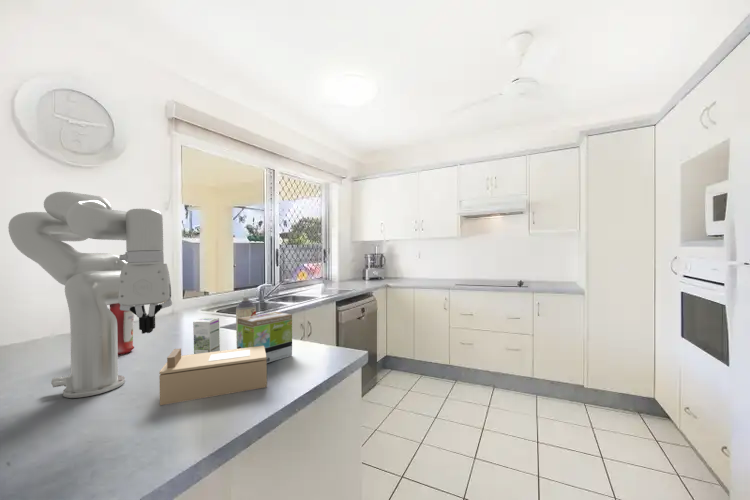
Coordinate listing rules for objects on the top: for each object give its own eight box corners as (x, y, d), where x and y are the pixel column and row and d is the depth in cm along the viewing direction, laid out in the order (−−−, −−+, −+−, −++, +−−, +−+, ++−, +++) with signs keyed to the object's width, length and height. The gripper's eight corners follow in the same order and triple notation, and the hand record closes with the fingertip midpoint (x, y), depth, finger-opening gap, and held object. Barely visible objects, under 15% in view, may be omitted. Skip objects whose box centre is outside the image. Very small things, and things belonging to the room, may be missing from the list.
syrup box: (220, 360, 106) (220, 317, 107) (210, 366, 100) (209, 321, 101) (204, 360, 107) (204, 317, 107) (193, 366, 101) (192, 321, 101)
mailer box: (159, 405, 75) (159, 375, 75) (171, 386, 86) (170, 360, 86) (266, 387, 84) (266, 360, 84) (264, 371, 95) (264, 348, 95)
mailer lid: (159, 374, 75) (159, 361, 75) (170, 359, 86) (170, 347, 86) (266, 359, 84) (266, 347, 84) (264, 347, 95) (264, 337, 95)
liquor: (115, 351, 120) (114, 277, 121) (138, 348, 123) (137, 276, 123) (105, 356, 113) (105, 278, 114) (130, 354, 116) (129, 278, 116)
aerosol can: (255, 353, 113) (254, 297, 113) (234, 355, 111) (233, 298, 112) (258, 348, 120) (257, 295, 120) (238, 349, 118) (237, 296, 118)
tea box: (254, 369, 98) (253, 321, 98) (236, 362, 104) (236, 317, 104) (293, 355, 110) (292, 313, 110) (275, 351, 116) (275, 310, 116)
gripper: (101, 259, 73) (103, 339, 72) (177, 257, 78) (179, 331, 78) (114, 260, 80) (116, 332, 79) (182, 257, 85) (184, 325, 85)
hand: (147, 332), depth 79 cm, fingers closed
